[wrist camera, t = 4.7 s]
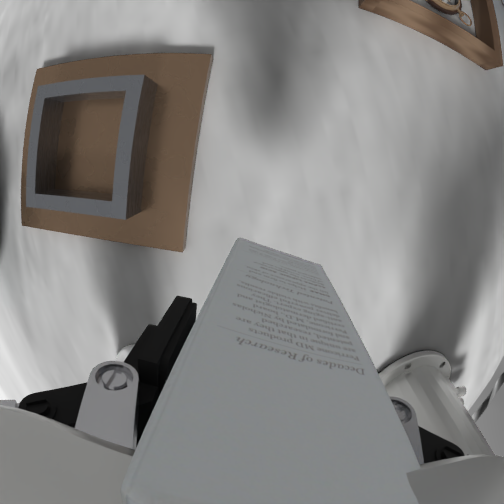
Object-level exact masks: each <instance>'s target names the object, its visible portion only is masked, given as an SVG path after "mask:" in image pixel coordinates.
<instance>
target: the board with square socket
mask: <svg viewBox="0 0 504 504" xmlns="http://www.w3.org/2000/svg"><path fill="white" fill-rule="evenodd" d="M212 62H213V57H212V55H211V54H192V53H153V54H132V55H119V56H109V57H101V58H93V59H86V60H79V61H73V62H68V63H63V64H58V65H53V66H48V67H44V68H40V69H37V71H36V75H35V79H34V84H33V88H32V93H31V98H30V104H29V109H28V115H27V122H26V129H25V138H24V147H23V160H22V178H21V218H22V226H28V227H33V228H39V229H45V230H51V231H56V232H62V233H68V234H74V235H80V236H86V237H92V238H98V239H104V240H110V241H116V242H122V243H128V244H134V245H140V246H146V247H153V248H159V249H165V250H171V251H178V252H183V251H184V250H185V246H186V236H187V225H188V216H189V207H190V198H191V190H192V182H193V174H194V167H195V160H196V153H197V146H198V139H199V133H200V127H201V121H202V115H203V109H204V103H205V98H206V92H207V87H208V82H209V77H210V72H211V67H212Z"/></svg>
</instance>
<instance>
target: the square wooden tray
mask: <svg viewBox="0 0 504 504" xmlns="http://www.w3.org/2000/svg"><path fill="white" fill-rule="evenodd" d="M471 5H472V10H473V16H474V23H475V31H476V37H475V36H473V35H472V34H470V33H469V32H467V31H465V30H464V29H462V28H461V27H459V26H457V25H456V24H454V23H452V22H451V21H449V20H447V19H445V18H444V17H442V16H440V15H438V14H436V13H434V12H433V11H431V10H429V9H427V8H425V7H423V6H421V5H419V4H417V3H414V2H412V1H410V0H359V8H361V9H364V10H367V11H370V12H373V13H375V14H378V15H381V16H383V17H386V18H389V19H391V20H394V21H396V22H398V23H401V24H403V25H405V26H408V27H410V28H412V29H414V30H417V31H419V32H421V33H423V34H425V35H427V36H429V37H431V38H433V39H435V40H437V41H439V42H440V43H442V44H444V45H446V46H448V47H450V48H451V49H453V50H455V51H457V52H458V53H460V54H462V55H463V56H465V57H466V58H468V59H470V60H471V61H473V62H474V63H476V64H477V65H479V66H480V67H482V68H483V69H485V70H488V69H492V68H496V67H500V66H503V60H502V51H501V43H500V36H499V30H498V24H497V19H496V14H495V10H494V5H493V1H492V0H471Z"/></svg>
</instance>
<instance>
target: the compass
mask: <svg viewBox="0 0 504 504" xmlns="http://www.w3.org/2000/svg"><path fill="white" fill-rule="evenodd" d="M425 1H426V2H428V3H429V4H430V5H431V6H432V7H434V8H435V9H437V10H438V11H441V12H443V13H445V14H449V15H453V14H456V13H459V17H460V16H461V17H462V16H464V14H466V13H464V12H462V11H461V8H462V4H461V0H425ZM463 13H464V14H463ZM466 15H467V14H466ZM467 16H468V15H467ZM461 17H460V19H461ZM468 18H469V19H470V17H469V16H468ZM461 21H462V22H463V23H464V24H466V23H465V22H464V21H463V20H462V19H461ZM466 25H467V26H471V25H472V21H471V19H470V25H468V24H466Z"/></svg>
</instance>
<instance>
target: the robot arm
mask: <svg viewBox="0 0 504 504" xmlns="http://www.w3.org/2000/svg"><path fill="white" fill-rule="evenodd" d="M196 309H197V304H196V303H192V299H191V298H186V297H181V296H176V298H175V299H174V301H173V302H172V304H171V305H170V307H169V309H168V310H167V312H166V313H165V315H164V316H163V318H162V320H161V321H160V323H159V324H158V326H155V325H151V324H150V325H148V326H147V328H146V329H145V331H144V332H143V334H142V335H141V337H140V338H139V339H138V341H137V342H136V344H135V345H134V347H133V348H132V350H131V351H130V353H129V354H128V356H127V357H126V359H125V361H124V362H120V361H107V362H103V363H101V364H98V365H97V366H96V367H94V368H93V370H92V371H91V373H90V376H89V379H88V382H87V383H83V384H78V385H73V386H69V387H64V388H59V389H54V390H49V391H43V392H38V393H33V394H30V395H28V396H26V397H25V398H23V400H22V401H21V402H20V403H16V400H0V504H124V503H123V501H122V497H121V492H120V490H121V486H122V483H123V480H124V477H125V475H126V472H127V470H128V467H129V465H130V462H131V460H132V457H133V455H134V452H135V450H136V448H137V445H138V443H139V441H140V438H141V436H142V434H143V431H144V429H145V427H146V425H147V422H148V420H149V418H150V416H151V414H152V411H153V409H154V407H155V405H156V403H157V400H158V398H159V396H160V394H161V392H162V390H163V387H164V385H165V383H166V381H167V379H168V377H169V375H170V372H171V370H172V368H173V366H174V364H175V362H176V360H177V358H178V356H179V354H180V352H181V350H182V347H183V345H184V343H185V341H186V339H187V337H188V335H189V333H190V331H191V329H192V327H193V325H194V323H195V321H196ZM379 376H380V378H381V380H382V382H383V385H384V387H385V389H386V391H387V393H388V395H389V397H390V399H391V401H392V403H393V406H394V408H395V410H396V412H397V414H398V417H399V419H400V421H401V423H402V425H403V427H404V430H405V432H406V434H407V436H408V438H409V441H410V443H411V445H412V448H413V450H414V453H415V455H416V458H417V460H418V463H419V465H420V468H421V469H418V470H414V471H411V472H408V473H406V475H407V478H408V481H409V484H410V486H411V488H412V491H413V493H414V495H415V496H416V498H417V501H418V503H419V504H504V457H502V456H497V455H495V454H494V452H493V451H492V449H491V447H490V446H489V444H488V443H487V441H486V439H485V438H484V436H483V435H482V433H481V431H480V430H479V428H478V427H477V425H476V423H475V422H474V420H473V419H472V417H471V416H470V414H469V413H468V411H467V410H466V408H465V407H464V401H463V399H462V398H461V396H464V395H465V394H466V388H465V387H464V386H462V387H456V388H455V387H454V385H453V384H452V383H451V381H450V376H451V367H450V364H449V362H448V360H447V359H446V358H445V357H444V356H443V355H442V354H441V353H439V352H436V351H420V352H416V353H413V354H410V355H407V356H405V357H403V358H401V359H399V360H397V361H396V362H394V363H392V364H391V365H389V366H388V367H387V368H385V369H384V370H383V371H382V372H380V373H379ZM458 397H459V398H458Z"/></svg>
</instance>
